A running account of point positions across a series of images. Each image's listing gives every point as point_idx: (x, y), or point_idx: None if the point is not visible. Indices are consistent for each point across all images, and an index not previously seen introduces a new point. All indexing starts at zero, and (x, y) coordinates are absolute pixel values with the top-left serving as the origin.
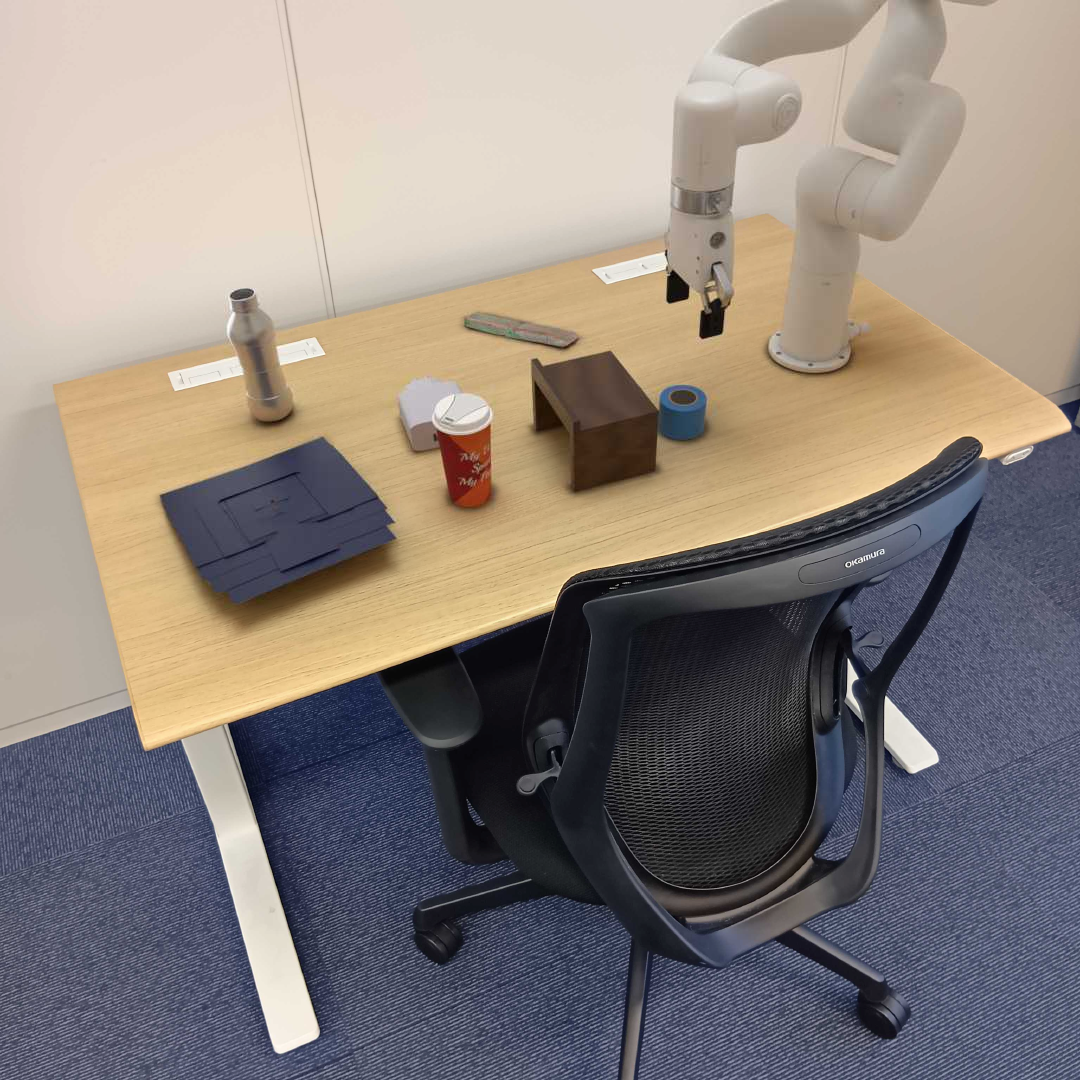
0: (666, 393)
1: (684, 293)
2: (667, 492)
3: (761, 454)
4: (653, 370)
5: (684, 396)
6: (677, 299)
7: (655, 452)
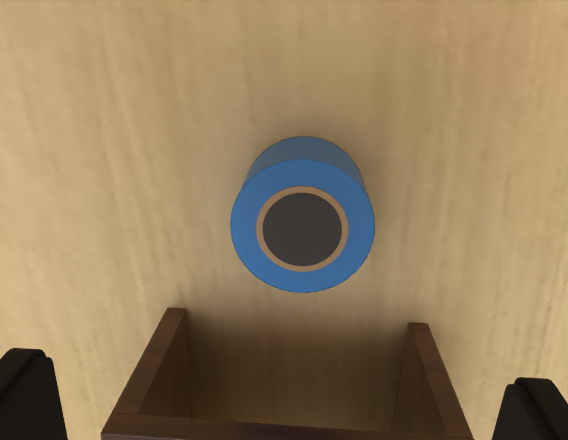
0: (260, 261)
1: (27, 416)
2: (505, 334)
3: (518, 61)
4: (33, 135)
5: (301, 226)
6: (54, 431)
7: (441, 359)
